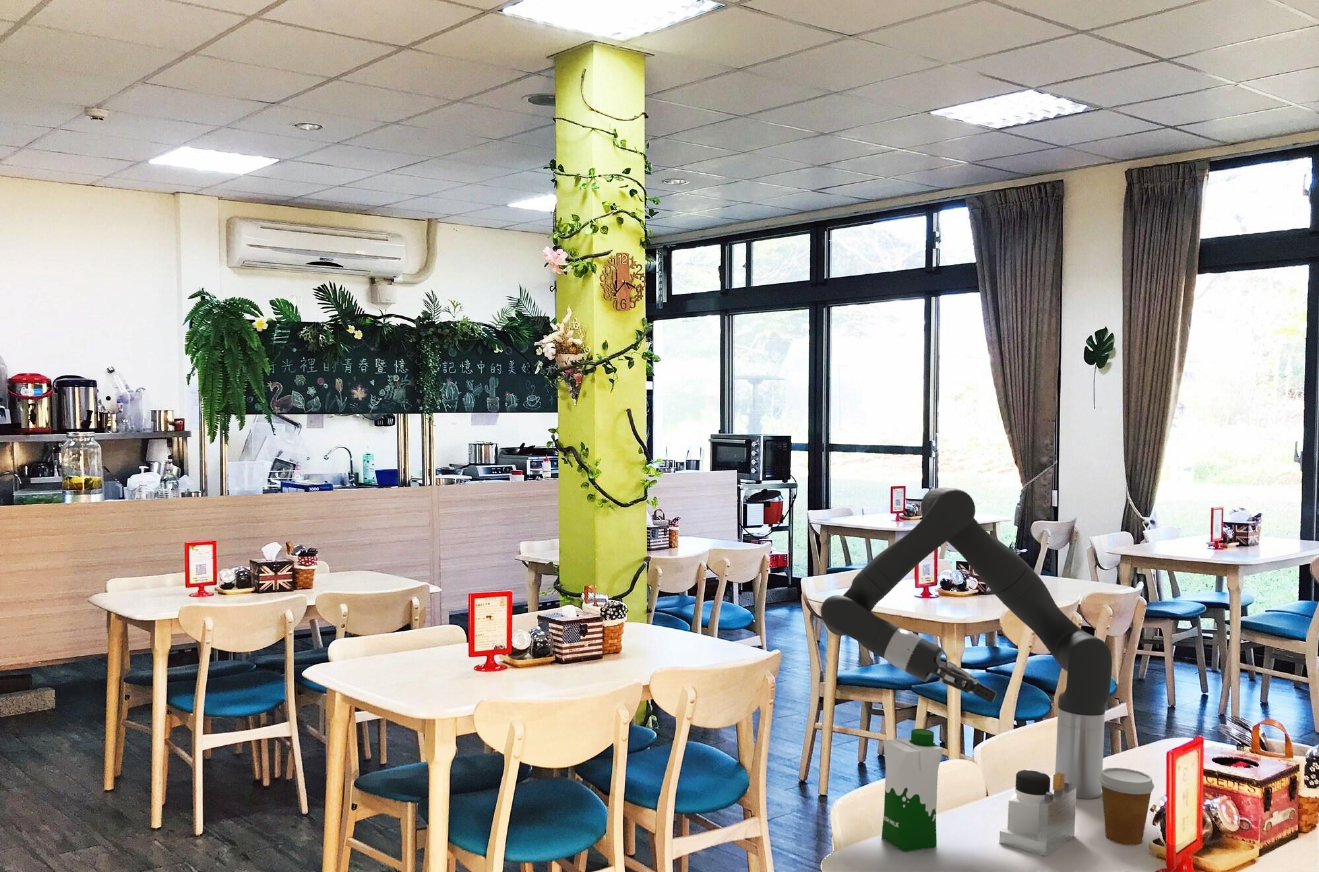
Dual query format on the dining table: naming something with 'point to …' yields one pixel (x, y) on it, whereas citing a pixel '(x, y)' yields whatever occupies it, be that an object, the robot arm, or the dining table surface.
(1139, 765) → the dining table surface
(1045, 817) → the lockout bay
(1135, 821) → the disposable coffee cup
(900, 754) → the milk carton
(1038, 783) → the medicine bottle
